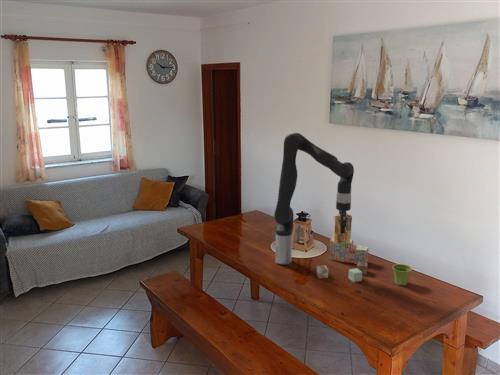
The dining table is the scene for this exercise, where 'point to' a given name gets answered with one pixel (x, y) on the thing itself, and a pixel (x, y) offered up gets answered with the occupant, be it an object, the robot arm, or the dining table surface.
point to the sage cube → (355, 275)
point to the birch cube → (322, 271)
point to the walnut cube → (362, 267)
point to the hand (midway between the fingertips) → (341, 231)
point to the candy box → (337, 235)
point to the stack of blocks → (348, 252)
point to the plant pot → (401, 273)
